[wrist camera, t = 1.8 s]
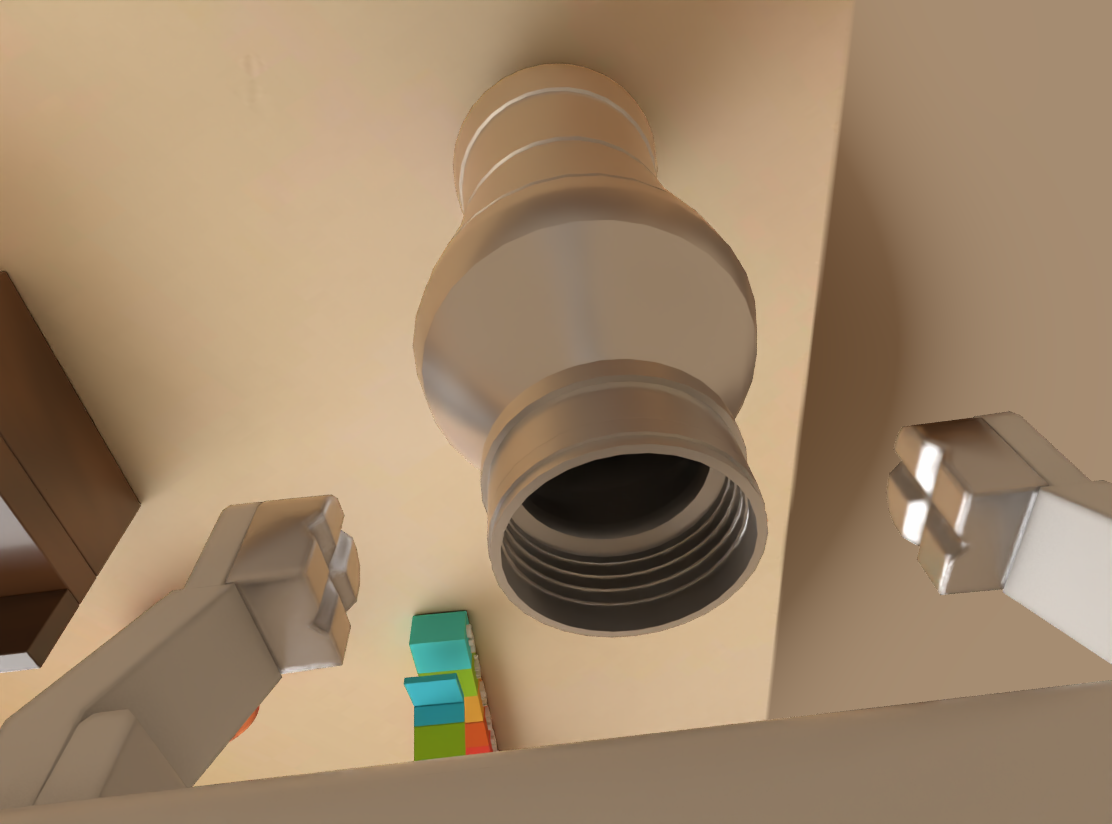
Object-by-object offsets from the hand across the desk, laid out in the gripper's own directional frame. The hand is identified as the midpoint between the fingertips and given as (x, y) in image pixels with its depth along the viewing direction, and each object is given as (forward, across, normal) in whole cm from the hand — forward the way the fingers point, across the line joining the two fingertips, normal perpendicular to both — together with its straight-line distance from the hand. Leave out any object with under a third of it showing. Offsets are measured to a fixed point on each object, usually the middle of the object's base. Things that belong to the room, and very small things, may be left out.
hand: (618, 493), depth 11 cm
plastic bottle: (+19, 0, 0) cm, 19 cm away
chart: (+19, +9, +39) cm, 44 cm away
